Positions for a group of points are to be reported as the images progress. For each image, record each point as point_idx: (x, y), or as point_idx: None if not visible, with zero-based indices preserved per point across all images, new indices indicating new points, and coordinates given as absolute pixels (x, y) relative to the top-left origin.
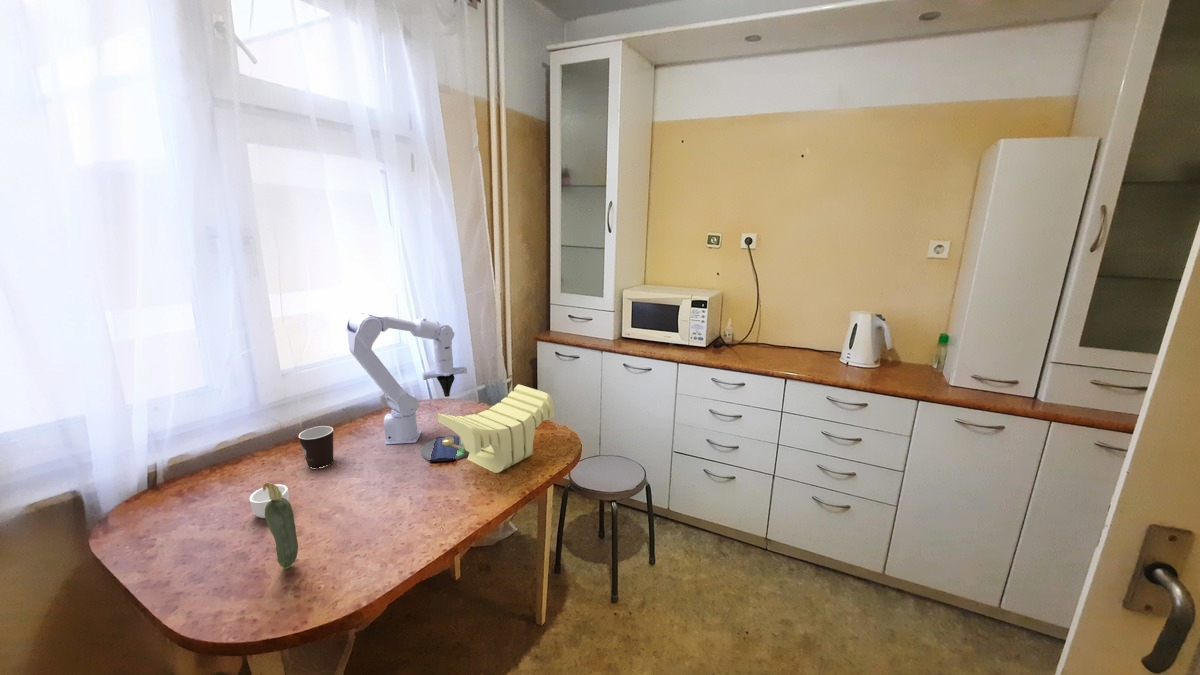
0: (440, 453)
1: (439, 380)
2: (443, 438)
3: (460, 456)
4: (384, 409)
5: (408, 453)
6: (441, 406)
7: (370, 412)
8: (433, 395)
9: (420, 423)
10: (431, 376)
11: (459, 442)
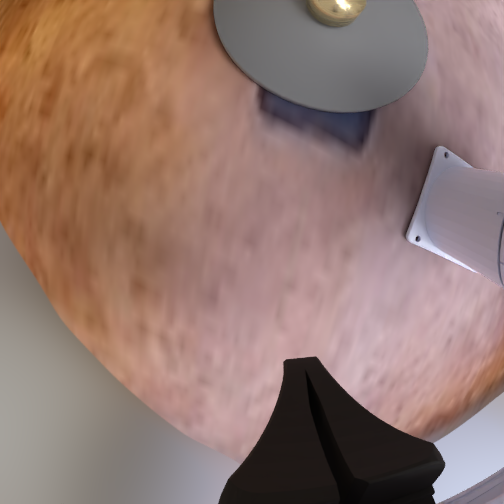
0: None
1: (443, 462)
2: (358, 10)
3: None
4: None
5: (457, 80)
6: None
7: (444, 426)
8: None
9: (382, 326)
10: (484, 497)
11: (279, 18)
